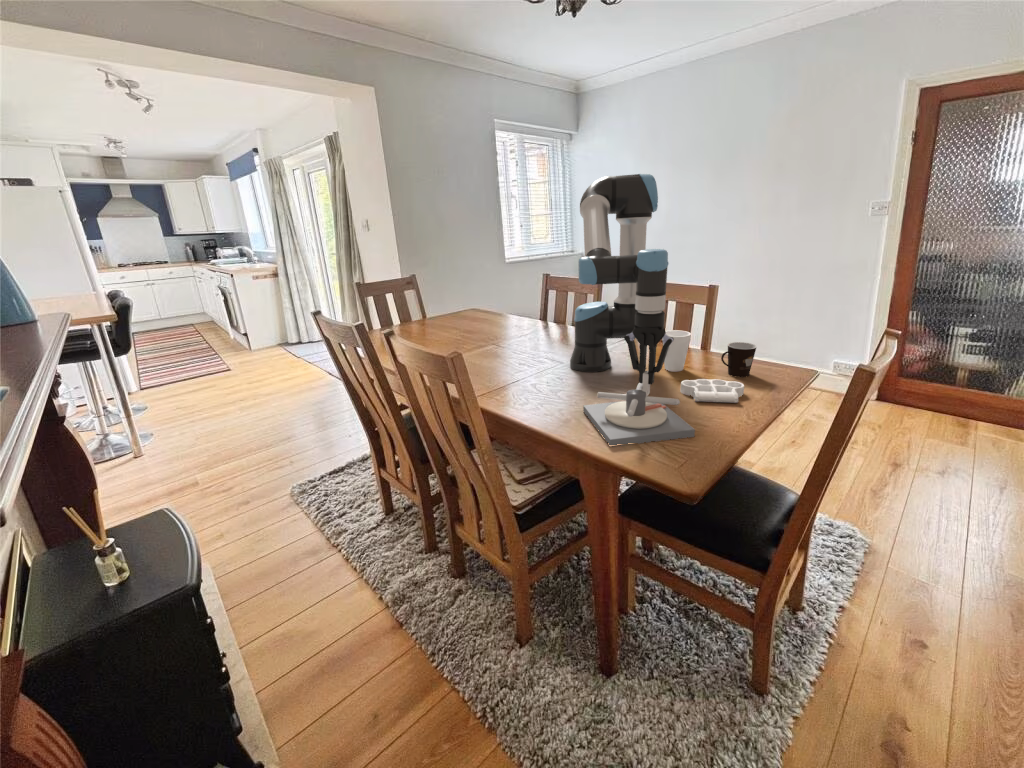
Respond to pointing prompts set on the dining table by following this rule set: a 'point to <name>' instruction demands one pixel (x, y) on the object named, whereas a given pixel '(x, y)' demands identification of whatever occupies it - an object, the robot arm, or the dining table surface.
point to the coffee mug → (739, 358)
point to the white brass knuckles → (713, 390)
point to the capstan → (636, 409)
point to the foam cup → (677, 350)
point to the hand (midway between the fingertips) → (645, 394)
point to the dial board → (623, 435)
